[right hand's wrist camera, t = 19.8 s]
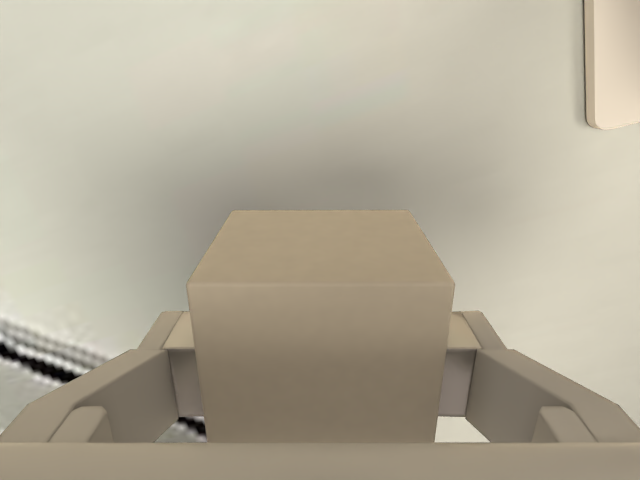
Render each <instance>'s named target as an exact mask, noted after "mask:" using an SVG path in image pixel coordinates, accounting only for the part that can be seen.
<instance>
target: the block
mask: <svg viewBox="0 0 640 480" xmlns="http://www.w3.org/2000/svg"><path fill="white" fill-rule="evenodd" d="M186 288H187V295H188V303H189V310H190V317H191V325H192V332H193V339H194V347H195V354H196V361H197V369H198V376H199V383H200V391H201V398H202V405H203V413H204V420H205V427H206V435H207V442H208V443H434V441H435V433H436V425H437V418H438V410H439V403H440V395H441V387H442V380H443V372H444V365H445V357H446V349H447V342H448V334H449V327H450V319H451V311H452V304H453V296H454V289H455V283H454V281H453V279H452V278H451V276H450V275H449V273H448V271H447V270H446V268H445V267H444V265H443V264H442V262H441V260H440V259H439V257H438V256H437V254H436V252H435V251H434V249H433V248H432V246H431V244H430V243H429V241H428V240H427V238H426V237H425V235H424V233H423V232H422V230H421V229H420V227H419V225H418V224H417V222H416V221H415V219H414V218H413V216H412V214H411V213H410V211H408V210H234V211H232V212H231V213H230V215H229V217H228V218H227V220H226V221H225V223H224V225H223V226H222V228H221V229H220V231H219V232H218V234H217V236H216V237H215V239H214V240H213V242H212V244H211V245H210V247H209V248H208V250H207V251H206V253H205V255H204V256H203V258H202V259H201V261H200V263H199V264H198V266H197V267H196V269H195V270H194V272H193V274H192V275H191V277H190V278H189V280H188V282H187V284H186Z"/></svg>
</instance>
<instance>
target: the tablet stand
mask: <svg viewBox="0 0 640 480" xmlns="http://www.w3.org/2000/svg"><path fill="white" fill-rule="evenodd" d="M584 9H585V66H586V118H587V122H588V124H589V125H590V126H592V127H594V128H598V129H603V130H610V129H615V128H619V127H623V126H627V125H631V124H635V123H639V122H640V0H584Z"/></svg>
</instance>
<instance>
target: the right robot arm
mask: <svg viewBox="0 0 640 480" xmlns="http://www.w3.org/2000/svg"><path fill="white" fill-rule="evenodd" d="M193 416H204V413H203V405H202V398H201V391H200V383H199V376H198V369H197V361H196V354H195V347H194V339H193V332H192V325H191V317H190V311H185V312H184V311H165V312H162V313H161V314H160V315H159V317H158V318H157V320H156V321H155V323H154V324H153V326H152V327H151V329H150V330H149V332H148V333H147V335H146V336H145V338H144V339H143V341H142V342H141V344H140V345H139V347H138V348H137V349H132V350H128V351H127V352H125V353H123V354H121V355H119V356H117V357H115V358H114V359H112V360H110V361H108V362H106V363H104V364H102V365H100V366H99V367H97V368H95V369H93V370H91V371H89V372H87V373H85V374H84V375H82V376H80V377H78V378H76V379H74V380H72V381H71V382H69V383H67V384H65V385H63V386H61V387H59V388H57V389H56V390H54V391H52V392H50V393H48V394H46V395H44V396H42V397H41V398H39V399H37V400H35V401H33V402H31V403H29V404H28V405H26V407H25V408H24V409H23V410H22V411H21V412H20V413H19V415H18V416H17V417H16V418H15V419H14V420H13V421H12V422H11V424H10V425H9V426H8V427H7V428H6V429H5V430H4V432H3V433H2V434H1V435H0V480H640V428H639V427H638V426H637V425H636V424H635V423H634V422H633V421H632V420H631V418H630V417H629V416H628V415H627V414H626V413H625V412H624V411H623V409H622V408H621V407H620V406H619V405H617V404H615V403H614V402H612V401H610V400H608V399H606V398H604V397H602V396H600V395H598V394H597V393H595V392H593V391H591V390H589V389H587V388H585V387H583V386H582V385H580V384H578V383H576V382H574V381H572V380H570V379H568V378H567V377H565V376H563V375H561V374H559V373H557V372H555V371H553V370H551V369H550V368H548V367H546V366H544V365H542V364H540V363H538V362H536V361H535V360H533V359H531V358H529V357H527V356H525V355H523V354H521V353H520V352H518V351H516V350H512V349H507V348H506V347H505V345H504V344H503V342H502V341H501V339H500V338H499V336H498V335H497V333H496V332H495V331H494V329H493V328H492V326H491V325H490V323H489V322H488V320H487V319H486V318H485V316H484V315H483V313H482V312H480V311H461V312H451V319H450V327H449V334H448V342H447V349H446V357H445V365H444V372H443V380H442V387H441V395H440V403H439V410H438V416H450V417H466V418H465V419H466V420H467V421H469V422H470V423H471V424H472V425H473V426H474V427H475V428H476V429H477V430H478V431H479V432H480V433H481V434H482V435H484V436H485V437H486V438H487V439H488V440H489V441H490V442H491V443H153V442H154V441H155V440H157V439H158V438H159V437H160V436H161V435H162V434H163V433H164V432H165V431H166V430H167V429H168V428H169V427H170V426H171V425H172V424H174V423H175V422H176V421H177V420H178V417H193Z"/></svg>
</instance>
